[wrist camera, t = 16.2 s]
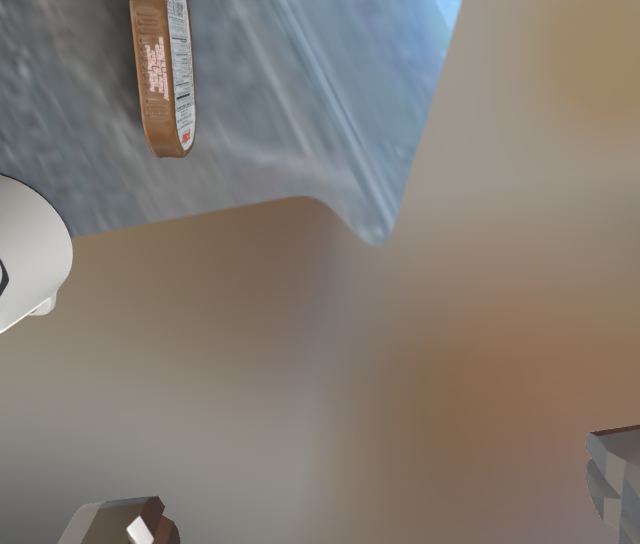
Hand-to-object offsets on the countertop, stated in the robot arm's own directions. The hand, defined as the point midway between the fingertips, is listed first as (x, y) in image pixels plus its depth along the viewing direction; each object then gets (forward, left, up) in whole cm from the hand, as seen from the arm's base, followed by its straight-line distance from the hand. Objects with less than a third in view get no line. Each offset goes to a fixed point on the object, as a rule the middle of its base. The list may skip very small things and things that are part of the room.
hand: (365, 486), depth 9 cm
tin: (-13, +10, -39) cm, 42 cm away
